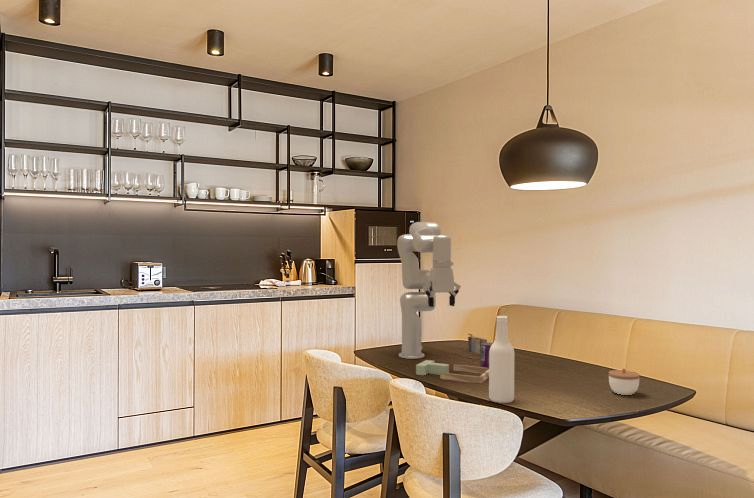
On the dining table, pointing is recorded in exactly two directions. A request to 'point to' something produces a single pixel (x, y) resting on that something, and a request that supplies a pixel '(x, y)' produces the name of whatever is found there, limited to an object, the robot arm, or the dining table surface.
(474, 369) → the oak frame
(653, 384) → the dining table surface
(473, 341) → the ruin model on sheet
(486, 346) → the beverage can
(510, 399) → the alcohol
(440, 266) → the robot arm
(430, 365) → the tee block
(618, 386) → the lidded jar
